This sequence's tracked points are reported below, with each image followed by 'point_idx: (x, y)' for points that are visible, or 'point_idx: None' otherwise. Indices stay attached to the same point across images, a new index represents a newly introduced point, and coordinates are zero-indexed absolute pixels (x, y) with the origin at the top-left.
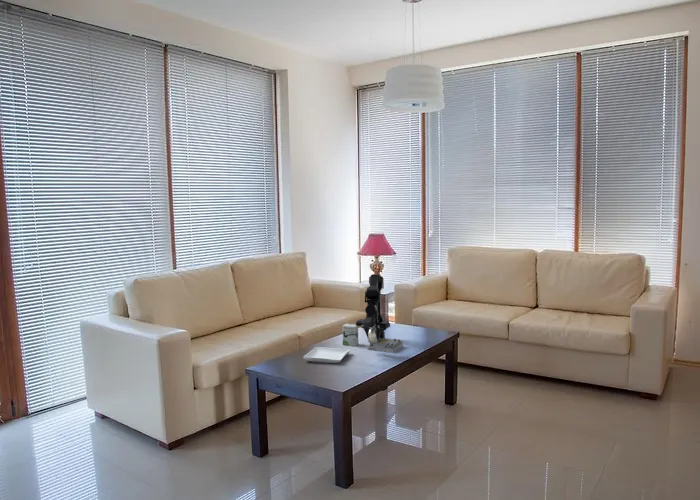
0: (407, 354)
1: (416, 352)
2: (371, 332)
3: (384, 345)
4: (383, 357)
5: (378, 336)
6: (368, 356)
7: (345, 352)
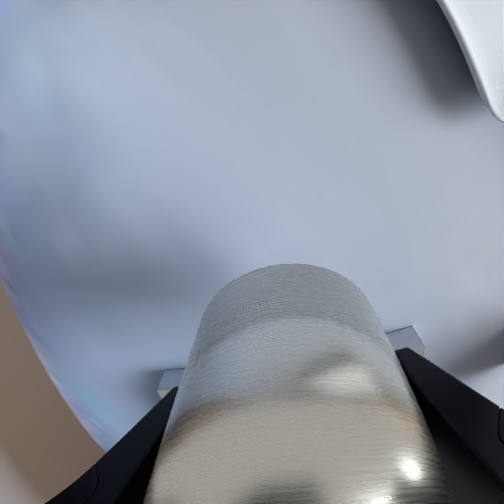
0: (78, 378)
1: (87, 420)
2: (223, 498)
3: None
4: (114, 224)
5: (132, 434)
6: (258, 146)
7: (497, 80)
